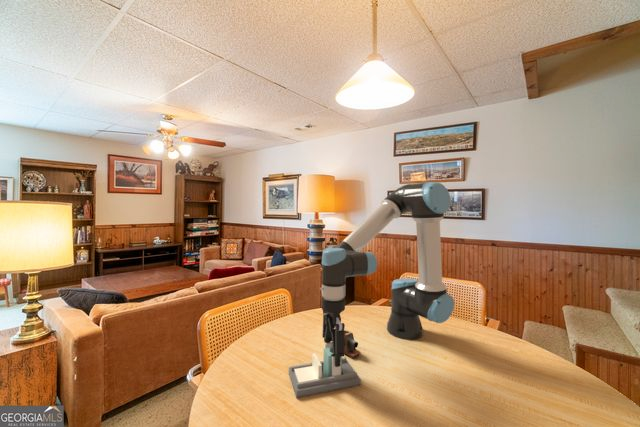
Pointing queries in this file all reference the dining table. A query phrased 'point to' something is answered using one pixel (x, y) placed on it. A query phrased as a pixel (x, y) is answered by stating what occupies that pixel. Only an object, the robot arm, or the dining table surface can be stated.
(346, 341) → the electronic device
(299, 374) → the shutter
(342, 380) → the socket board
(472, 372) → the dining table surface
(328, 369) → the teal bottle
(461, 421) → the dining table surface
